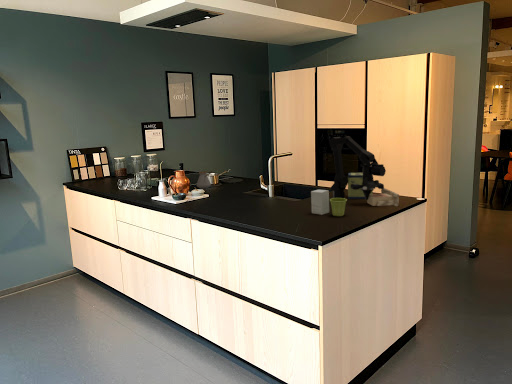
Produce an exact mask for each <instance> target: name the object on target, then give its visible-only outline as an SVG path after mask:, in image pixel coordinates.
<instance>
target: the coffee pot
mask: <svg viewBox="0 0 512 384" xmlns="http://www.w3.org/2000/svg"><path fill="white" fill-rule="evenodd" d="M213 172H215V171H214V170H211V171H210V172H208V173H207V171H199V172H198V173H199V177H198V180H197V182H196V187H197V188H198V189H199V190H200V189H201V190H202V189H203V190H204V189H205V190H206V189H209V187H211V186H212V185H211V184H212V183H211V181H210V179H209V177H208V176H209V175H210V174H213Z"/></svg>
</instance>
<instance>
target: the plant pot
mask: <svg viewBox="0 0 512 384" xmlns="http://www.w3.org/2000/svg"><path fill="white" fill-rule="evenodd" d="M347 201H348V198H333V197H332V198H329V204H330V205H331V206H330V207H331V212H332V216H334V217H343V216H344V215H345V209H346V204H347Z"/></svg>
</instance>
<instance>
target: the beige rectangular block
mask: <svg viewBox="0 0 512 384" xmlns="http://www.w3.org/2000/svg"><path fill="white" fill-rule="evenodd" d="M392 198H393V196H391V195H389V194H381V193H373V194H371V195H369V197H368V200H366V202H367V204H369V205H371V206H372V207H373V206H374V207H375V206H376V207H378V206H377V202H378V201H392Z"/></svg>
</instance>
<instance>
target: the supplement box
mask: <svg viewBox="0 0 512 384" xmlns="http://www.w3.org/2000/svg"><path fill="white" fill-rule="evenodd" d="M329 193H330V191H329V190H326V189H316V190H311V191H310V203H311V214H313V215H314V214H315V215H320V216H321V215H325V214H328V213H330V195H329Z"/></svg>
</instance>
